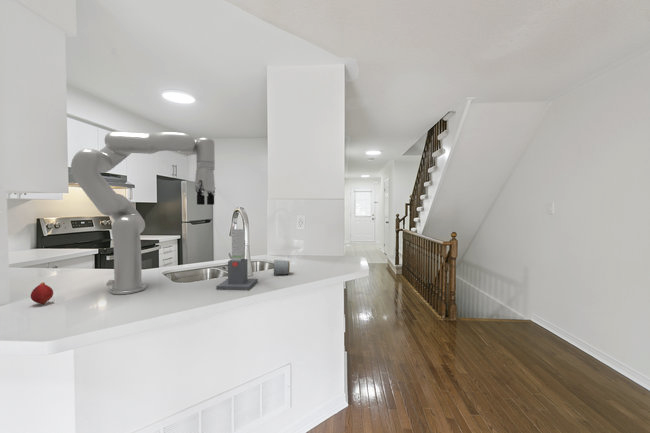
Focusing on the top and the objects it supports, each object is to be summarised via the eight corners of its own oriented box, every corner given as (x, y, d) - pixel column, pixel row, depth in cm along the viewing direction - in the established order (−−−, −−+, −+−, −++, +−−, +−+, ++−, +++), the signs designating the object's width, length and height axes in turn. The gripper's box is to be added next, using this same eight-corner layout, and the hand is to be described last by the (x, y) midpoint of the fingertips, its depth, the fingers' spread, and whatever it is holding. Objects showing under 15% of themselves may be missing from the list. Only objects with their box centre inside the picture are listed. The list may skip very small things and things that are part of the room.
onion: (34, 308, 103) (33, 285, 102) (28, 305, 106) (28, 282, 105) (55, 303, 107) (55, 281, 107) (50, 300, 111) (49, 279, 110)
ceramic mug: (289, 275, 153) (289, 260, 153) (273, 276, 151) (273, 261, 151) (288, 271, 163) (288, 257, 163) (272, 272, 161) (272, 258, 161)
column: (231, 270, 131) (231, 229, 130) (235, 268, 135) (234, 229, 134) (240, 270, 131) (240, 230, 130) (244, 268, 135) (244, 229, 134)
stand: (216, 289, 127) (216, 262, 126) (228, 281, 141) (228, 257, 140) (248, 290, 126) (248, 263, 125) (257, 281, 140) (257, 257, 139)
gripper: (206, 168, 142) (206, 204, 142) (187, 163, 124) (187, 204, 125) (221, 168, 141) (221, 204, 142) (204, 163, 124) (205, 204, 125)
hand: (205, 204), depth 134 cm, fingers open, 9 cm apart
